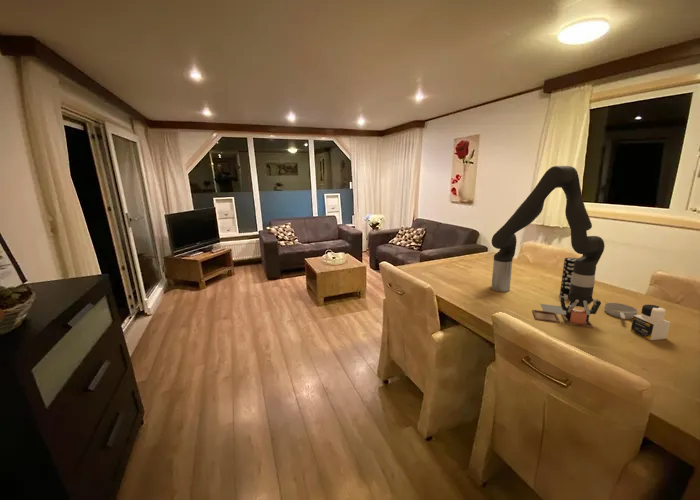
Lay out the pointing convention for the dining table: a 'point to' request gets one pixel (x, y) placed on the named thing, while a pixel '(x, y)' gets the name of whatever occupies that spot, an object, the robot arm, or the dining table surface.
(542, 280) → the dining table surface
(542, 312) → the tray
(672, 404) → the dining table surface
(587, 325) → the tray
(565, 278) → the white-spotted black cylinder
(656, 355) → the dining table surface
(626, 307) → the saucepan
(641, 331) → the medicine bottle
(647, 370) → the dining table surface
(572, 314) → the letter block
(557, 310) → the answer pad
